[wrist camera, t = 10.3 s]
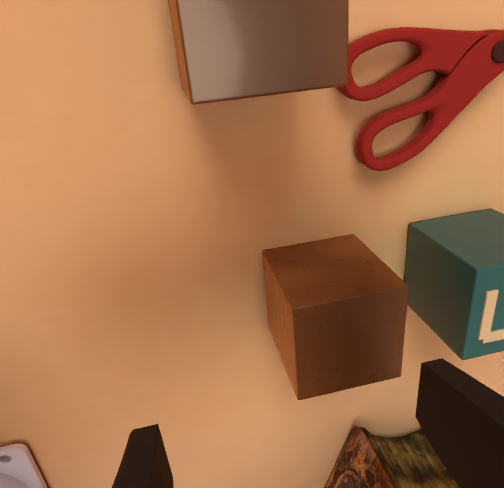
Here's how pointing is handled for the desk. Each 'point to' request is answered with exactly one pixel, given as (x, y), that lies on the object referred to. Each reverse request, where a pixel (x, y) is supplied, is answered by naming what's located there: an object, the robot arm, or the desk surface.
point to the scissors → (440, 97)
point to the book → (389, 463)
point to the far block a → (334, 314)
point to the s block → (459, 279)
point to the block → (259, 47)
